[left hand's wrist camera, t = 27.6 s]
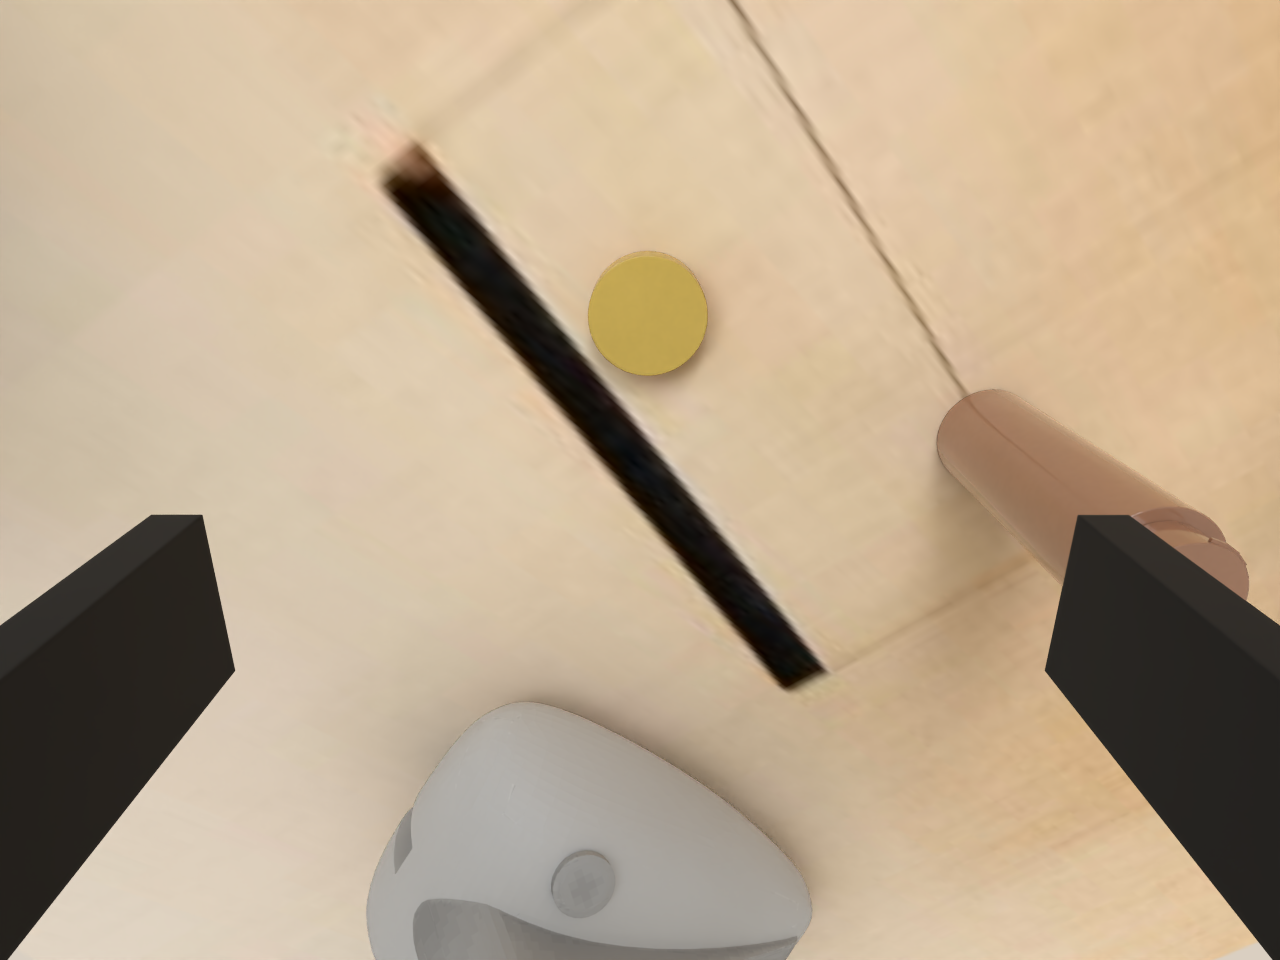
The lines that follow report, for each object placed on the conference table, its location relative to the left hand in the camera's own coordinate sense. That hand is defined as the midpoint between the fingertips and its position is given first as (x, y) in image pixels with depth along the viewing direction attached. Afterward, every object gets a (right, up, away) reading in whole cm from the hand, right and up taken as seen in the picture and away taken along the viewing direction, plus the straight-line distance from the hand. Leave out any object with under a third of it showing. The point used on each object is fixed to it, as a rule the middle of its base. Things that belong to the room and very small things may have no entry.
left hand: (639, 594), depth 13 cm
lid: (0, +9, +23) cm, 24 cm away
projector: (-2, -18, +35) cm, 40 cm away
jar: (+16, +4, +26) cm, 31 cm away
